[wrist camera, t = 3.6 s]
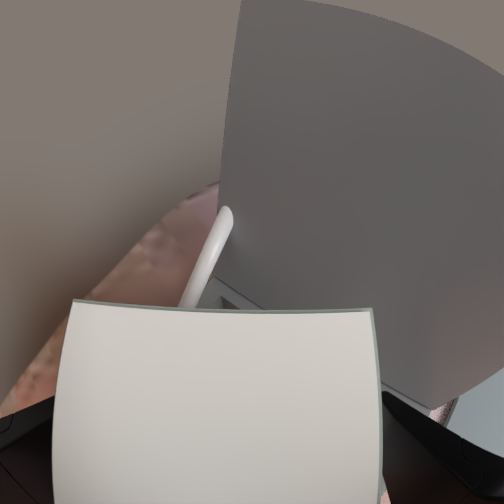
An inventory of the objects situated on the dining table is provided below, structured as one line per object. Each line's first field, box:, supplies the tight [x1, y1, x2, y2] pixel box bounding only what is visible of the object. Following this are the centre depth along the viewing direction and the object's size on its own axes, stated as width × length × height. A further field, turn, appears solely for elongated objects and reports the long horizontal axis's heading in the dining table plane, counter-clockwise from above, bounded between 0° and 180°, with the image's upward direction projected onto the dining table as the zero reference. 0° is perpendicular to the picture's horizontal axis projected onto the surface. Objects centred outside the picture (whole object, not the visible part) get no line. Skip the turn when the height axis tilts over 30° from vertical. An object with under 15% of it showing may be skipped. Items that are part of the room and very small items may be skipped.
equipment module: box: [52, 299, 383, 504], centre depth 8 cm, size 5×5×12 cm
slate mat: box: [443, 368, 504, 457], centre depth 10 cm, size 12×12×1 cm
